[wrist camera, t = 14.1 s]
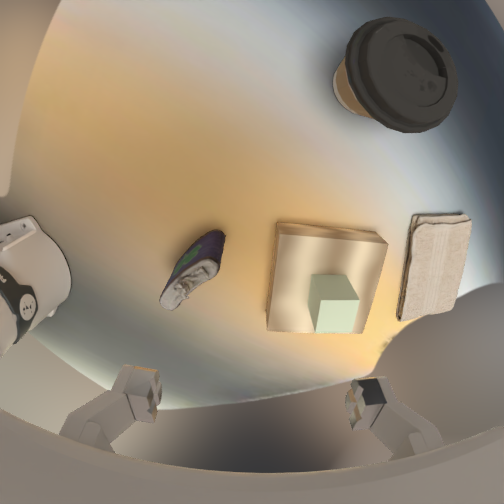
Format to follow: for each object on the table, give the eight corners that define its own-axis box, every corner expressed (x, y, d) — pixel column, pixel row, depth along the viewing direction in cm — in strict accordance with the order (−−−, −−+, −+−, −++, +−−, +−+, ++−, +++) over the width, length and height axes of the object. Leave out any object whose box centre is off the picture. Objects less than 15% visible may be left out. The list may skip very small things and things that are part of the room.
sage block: (307, 304, 38) (315, 333, 33) (311, 274, 37) (321, 300, 31) (340, 304, 38) (351, 332, 33) (345, 274, 37) (360, 300, 31)
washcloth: (465, 209, 38) (476, 215, 35) (448, 305, 45) (456, 314, 42) (405, 212, 39) (415, 218, 36) (393, 316, 46) (400, 327, 43)
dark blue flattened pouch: (184, 279, 42) (165, 323, 32) (169, 265, 41) (146, 306, 32) (230, 238, 40) (223, 276, 30) (215, 223, 39) (202, 256, 29)
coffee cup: (412, 88, 31) (482, 78, 17) (368, 148, 35) (428, 162, 21) (347, 31, 29) (395, -12, 15) (297, 92, 32) (326, 68, 19)
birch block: (265, 310, 45) (267, 331, 40) (276, 221, 39) (279, 234, 35) (353, 314, 45) (362, 333, 41) (374, 230, 40) (388, 244, 35)
